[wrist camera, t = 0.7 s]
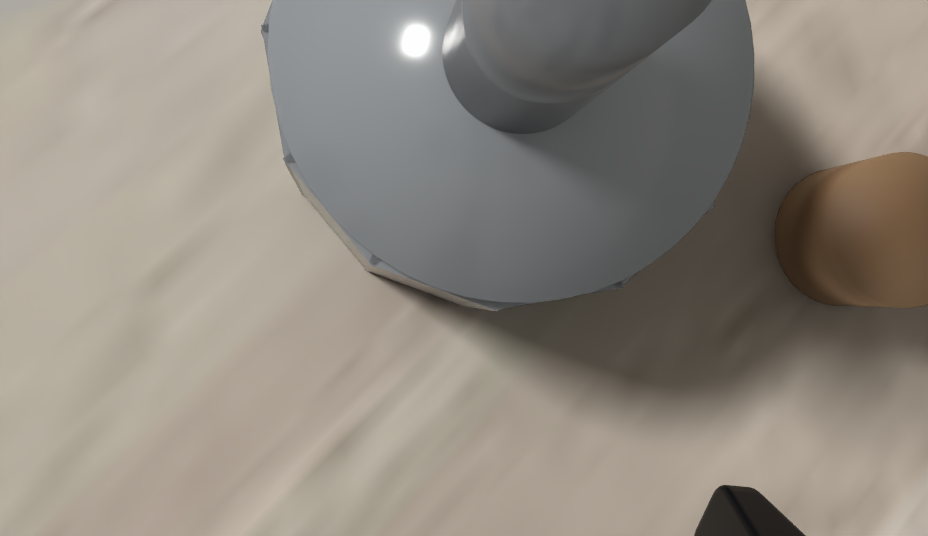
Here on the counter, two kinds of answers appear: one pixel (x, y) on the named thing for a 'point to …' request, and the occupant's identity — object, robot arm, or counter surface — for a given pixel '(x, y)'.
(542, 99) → the slate cloche
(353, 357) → the counter surface
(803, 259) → the walnut puck
